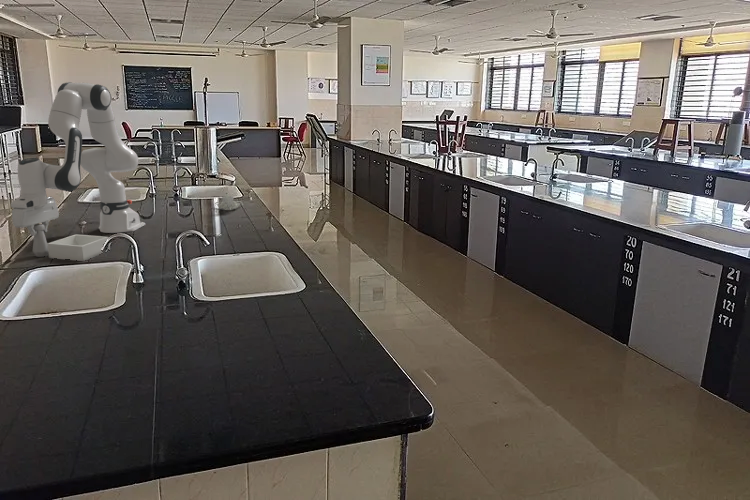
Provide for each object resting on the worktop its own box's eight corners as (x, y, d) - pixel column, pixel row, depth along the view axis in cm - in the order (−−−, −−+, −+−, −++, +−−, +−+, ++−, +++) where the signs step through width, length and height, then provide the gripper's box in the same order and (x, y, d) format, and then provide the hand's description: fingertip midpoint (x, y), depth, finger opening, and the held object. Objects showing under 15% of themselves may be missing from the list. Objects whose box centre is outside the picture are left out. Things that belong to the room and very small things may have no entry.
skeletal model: (242, 205, 343) (242, 181, 322) (243, 219, 339) (243, 196, 317) (214, 205, 340) (212, 181, 318) (215, 219, 335) (212, 196, 314)
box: (77, 247, 247) (75, 234, 246) (110, 250, 244) (108, 236, 242) (49, 258, 232) (47, 243, 231) (83, 261, 229) (82, 246, 227)
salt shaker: (34, 254, 236) (31, 223, 233) (50, 253, 238) (47, 222, 235) (32, 257, 231) (28, 226, 228) (48, 257, 233) (45, 225, 230)
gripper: (47, 195, 240) (51, 227, 243) (6, 204, 220) (12, 239, 224) (60, 196, 238) (64, 228, 242) (20, 205, 219) (26, 240, 223)
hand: (39, 233), depth 233 cm, fingers closed on salt shaker, 4 cm apart
